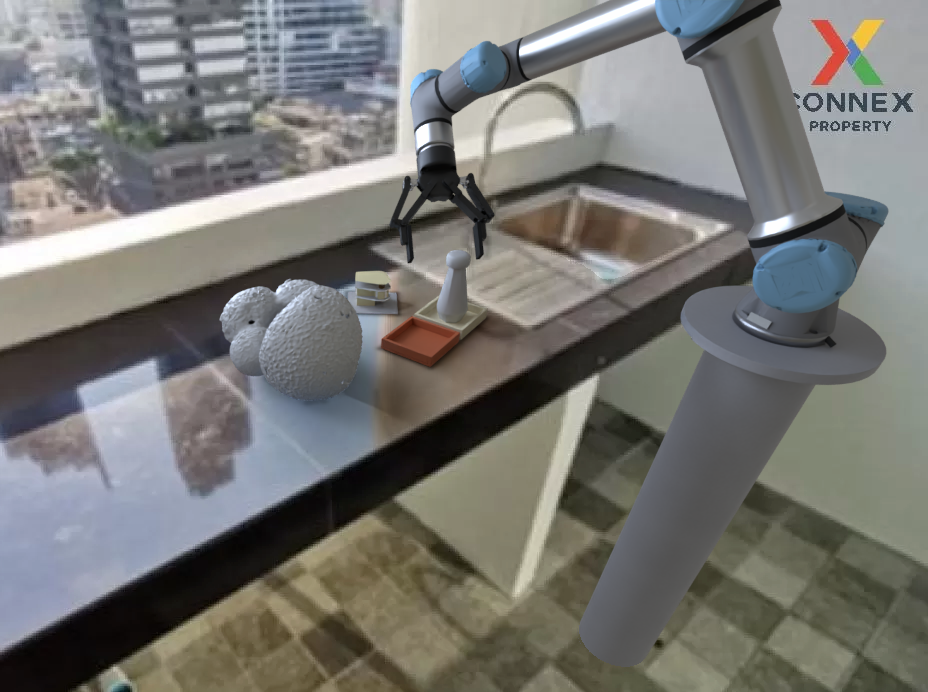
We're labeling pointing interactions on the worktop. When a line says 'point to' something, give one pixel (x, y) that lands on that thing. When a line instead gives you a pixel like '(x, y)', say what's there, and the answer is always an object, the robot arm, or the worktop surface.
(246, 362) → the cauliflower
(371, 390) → the worktop surface
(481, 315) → the ivory tray
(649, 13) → the robot arm
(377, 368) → the worktop surface
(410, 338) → the terracotta tray
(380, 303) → the stacked layers on plate
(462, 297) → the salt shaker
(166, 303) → the worktop surface
